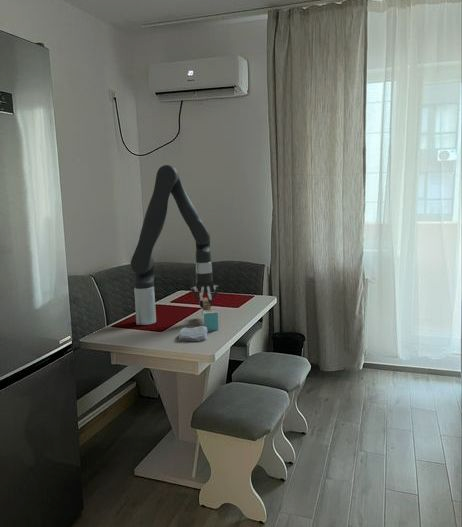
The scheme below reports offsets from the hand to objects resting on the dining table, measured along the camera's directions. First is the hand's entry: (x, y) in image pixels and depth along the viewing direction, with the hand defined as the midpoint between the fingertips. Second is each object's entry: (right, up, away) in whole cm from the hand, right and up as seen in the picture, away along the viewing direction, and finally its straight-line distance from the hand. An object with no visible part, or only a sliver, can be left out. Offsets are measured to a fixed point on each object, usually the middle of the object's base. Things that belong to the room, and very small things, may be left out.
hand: (205, 307), depth 214 cm
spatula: (0, -1, -2) cm, 2 cm away
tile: (+3, -9, -15) cm, 17 cm away
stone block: (-4, -11, -25) cm, 27 cm away
